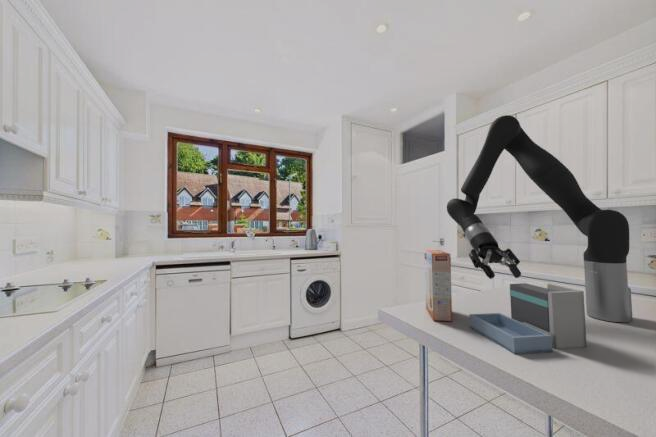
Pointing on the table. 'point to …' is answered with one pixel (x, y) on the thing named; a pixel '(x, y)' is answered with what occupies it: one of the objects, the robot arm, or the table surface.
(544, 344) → the tray
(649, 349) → the table surface
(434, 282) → the cracker box
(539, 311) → the teal-striped grey block
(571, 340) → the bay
